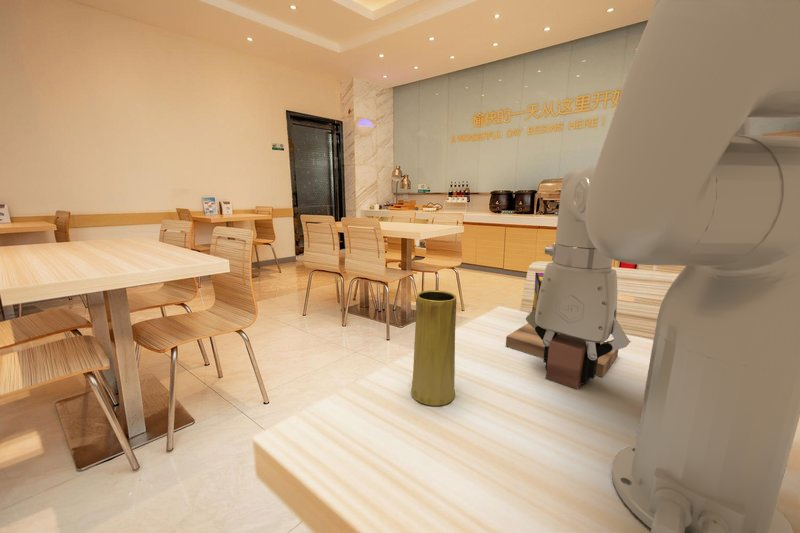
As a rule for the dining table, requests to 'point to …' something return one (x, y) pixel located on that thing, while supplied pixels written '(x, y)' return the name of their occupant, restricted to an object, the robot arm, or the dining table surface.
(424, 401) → the vase
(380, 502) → the dining table surface
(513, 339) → the board
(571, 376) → the brown boxy block
